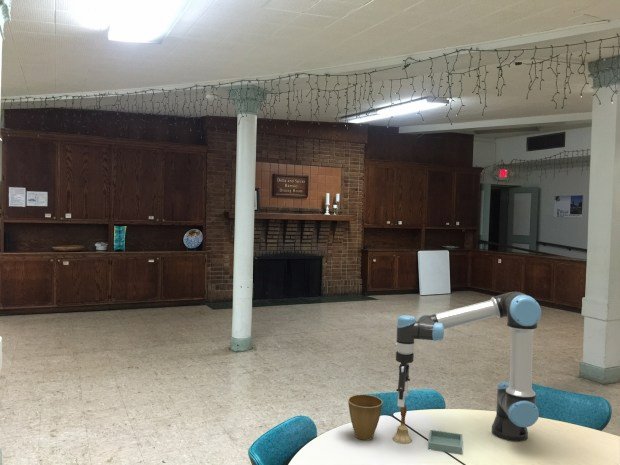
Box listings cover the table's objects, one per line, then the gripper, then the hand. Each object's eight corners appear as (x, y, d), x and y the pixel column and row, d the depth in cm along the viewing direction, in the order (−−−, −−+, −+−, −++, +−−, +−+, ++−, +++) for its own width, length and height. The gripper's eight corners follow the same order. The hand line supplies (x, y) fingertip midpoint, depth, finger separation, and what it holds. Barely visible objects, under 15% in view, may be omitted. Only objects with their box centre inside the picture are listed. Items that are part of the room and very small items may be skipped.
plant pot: (340, 435, 223) (341, 399, 222) (363, 426, 232) (364, 392, 232) (365, 447, 211) (366, 409, 211) (388, 438, 221) (389, 401, 221)
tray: (462, 440, 220) (462, 434, 220) (462, 454, 207) (462, 447, 207) (429, 435, 224) (430, 429, 224) (427, 449, 211) (428, 442, 211)
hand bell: (410, 436, 224) (412, 400, 223) (412, 444, 216) (414, 407, 215) (391, 434, 225) (392, 398, 224) (393, 443, 216) (394, 405, 216)
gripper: (399, 344, 232) (397, 390, 233) (392, 358, 208) (389, 409, 209) (416, 346, 230) (414, 392, 230) (410, 360, 206) (408, 412, 207)
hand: (402, 401), depth 220 cm, fingers open, 13 cm apart
